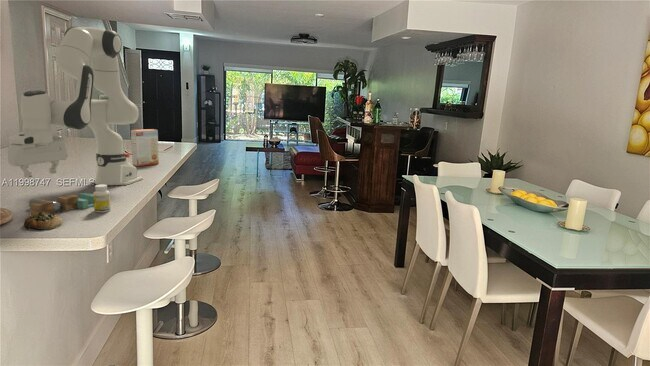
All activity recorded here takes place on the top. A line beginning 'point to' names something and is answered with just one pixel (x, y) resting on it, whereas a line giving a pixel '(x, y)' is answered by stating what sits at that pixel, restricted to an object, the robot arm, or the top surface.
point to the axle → (57, 206)
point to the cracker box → (144, 147)
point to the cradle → (85, 200)
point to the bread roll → (42, 221)
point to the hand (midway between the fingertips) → (41, 175)
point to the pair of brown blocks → (47, 206)
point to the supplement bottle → (101, 198)
